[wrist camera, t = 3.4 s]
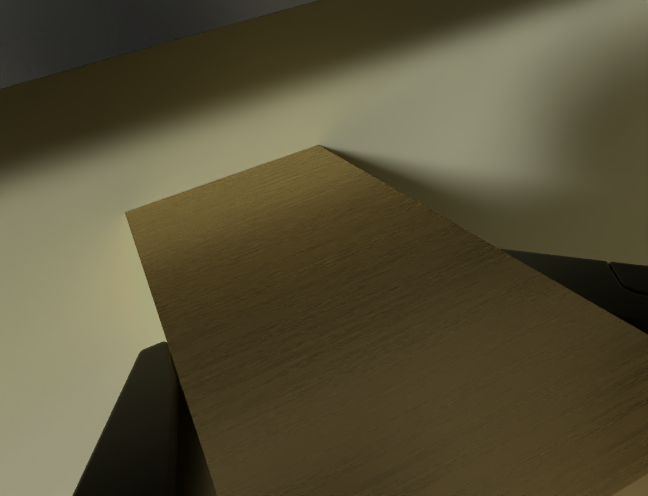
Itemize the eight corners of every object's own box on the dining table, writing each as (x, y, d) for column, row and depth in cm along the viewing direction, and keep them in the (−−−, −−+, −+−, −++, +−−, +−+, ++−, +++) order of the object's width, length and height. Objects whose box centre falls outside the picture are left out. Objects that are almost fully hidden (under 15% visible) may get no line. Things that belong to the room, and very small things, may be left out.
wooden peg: (317, 144, 11) (764, 402, 4) (354, 304, 12) (711, 676, 6) (124, 212, 10) (282, 696, 3) (192, 375, 12) (390, 915, 5)
